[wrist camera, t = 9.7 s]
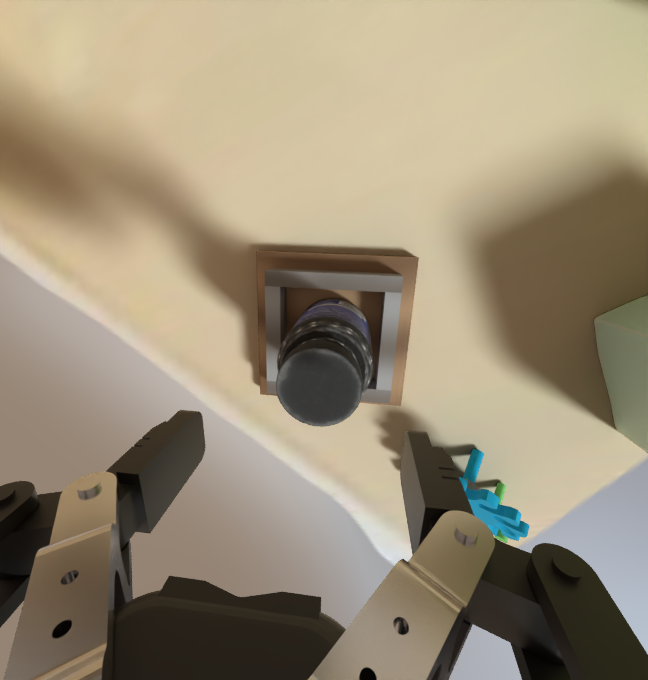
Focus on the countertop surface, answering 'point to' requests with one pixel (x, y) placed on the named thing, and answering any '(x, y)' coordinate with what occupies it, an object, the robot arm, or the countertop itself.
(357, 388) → the pill bottle
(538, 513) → the countertop surface
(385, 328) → the framed wooden base
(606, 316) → the planter
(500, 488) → the gear
